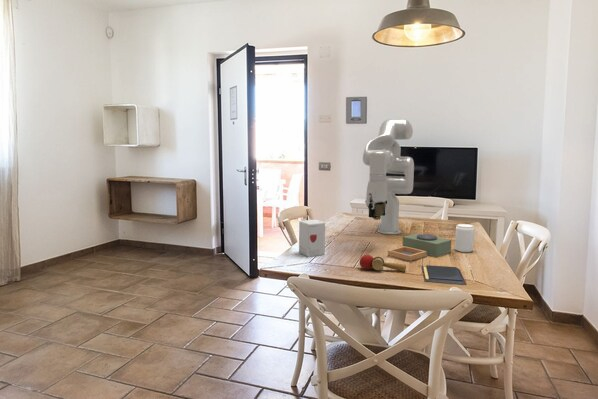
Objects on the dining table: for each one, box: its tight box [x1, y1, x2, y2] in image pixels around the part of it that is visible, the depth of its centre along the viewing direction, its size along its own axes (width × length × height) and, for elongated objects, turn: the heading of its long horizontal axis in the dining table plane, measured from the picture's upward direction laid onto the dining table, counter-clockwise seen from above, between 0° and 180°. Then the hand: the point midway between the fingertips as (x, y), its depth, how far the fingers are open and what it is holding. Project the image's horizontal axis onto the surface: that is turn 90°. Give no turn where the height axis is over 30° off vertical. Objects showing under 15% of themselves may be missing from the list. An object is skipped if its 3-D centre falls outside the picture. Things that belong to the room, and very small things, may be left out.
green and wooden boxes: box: [387, 232, 452, 263], centre depth 189 cm, size 18×27×7 cm, turn 130°
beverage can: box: [454, 223, 475, 253], centre depth 194 cm, size 8×8×12 cm
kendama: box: [359, 254, 407, 273], centre depth 166 cm, size 8×6×18 cm
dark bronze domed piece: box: [371, 203, 386, 221], centre depth 194 cm, size 8×7×8 cm
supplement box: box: [298, 219, 326, 258], centre depth 189 cm, size 9×9×15 cm
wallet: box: [421, 264, 467, 286], centre depth 160 cm, size 20×2×15 cm
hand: (376, 216), depth 194 cm, fingers closed on dark bronze domed piece, 6 cm apart
